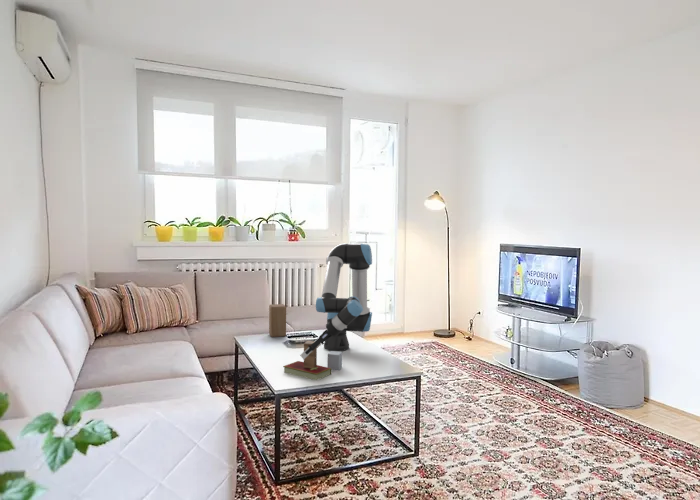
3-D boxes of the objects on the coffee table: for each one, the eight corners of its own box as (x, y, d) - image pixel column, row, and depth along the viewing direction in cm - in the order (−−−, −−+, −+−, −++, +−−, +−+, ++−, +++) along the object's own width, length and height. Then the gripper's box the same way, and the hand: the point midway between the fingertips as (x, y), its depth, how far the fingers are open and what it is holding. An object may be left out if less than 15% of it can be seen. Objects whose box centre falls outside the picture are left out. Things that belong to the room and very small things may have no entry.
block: (268, 334, 320) (269, 304, 319) (283, 333, 323) (283, 303, 322) (270, 337, 310) (271, 306, 309) (286, 336, 313) (286, 306, 312)
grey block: (330, 366, 250) (330, 351, 250) (341, 367, 249) (342, 351, 248) (327, 369, 244) (327, 354, 244) (338, 370, 243) (338, 355, 242)
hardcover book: (298, 368, 248) (298, 360, 248) (331, 375, 237) (331, 367, 236) (283, 374, 238) (283, 365, 238) (316, 382, 227) (316, 373, 226)
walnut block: (307, 364, 240) (307, 340, 240) (316, 365, 239) (316, 341, 239) (303, 367, 236) (303, 343, 235) (313, 368, 234) (313, 344, 234)
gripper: (334, 336, 221) (303, 366, 226) (347, 326, 245) (318, 353, 249) (324, 324, 222) (292, 354, 227) (337, 315, 246) (309, 342, 250)
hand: (306, 353), depth 238 cm, fingers open, 12 cm apart
